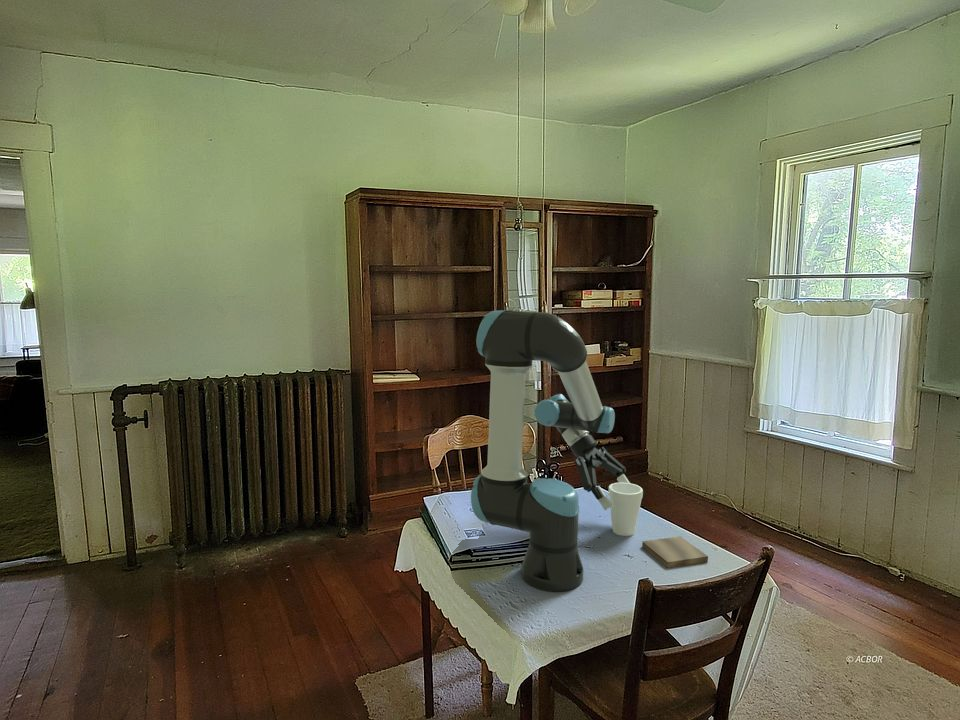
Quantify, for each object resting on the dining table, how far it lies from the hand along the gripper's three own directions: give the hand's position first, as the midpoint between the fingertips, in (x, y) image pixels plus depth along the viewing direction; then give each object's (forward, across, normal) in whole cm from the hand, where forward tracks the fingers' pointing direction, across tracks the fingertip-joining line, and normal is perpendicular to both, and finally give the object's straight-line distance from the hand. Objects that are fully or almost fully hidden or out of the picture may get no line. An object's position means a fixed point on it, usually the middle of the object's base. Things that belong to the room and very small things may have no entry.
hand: (621, 501), depth 175 cm
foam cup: (+7, +1, -4) cm, 9 cm away
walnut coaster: (+19, +4, +8) cm, 21 cm away
